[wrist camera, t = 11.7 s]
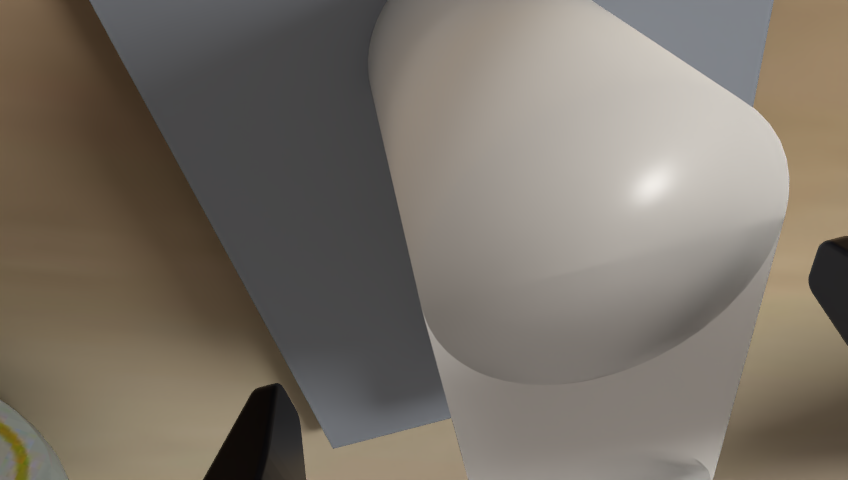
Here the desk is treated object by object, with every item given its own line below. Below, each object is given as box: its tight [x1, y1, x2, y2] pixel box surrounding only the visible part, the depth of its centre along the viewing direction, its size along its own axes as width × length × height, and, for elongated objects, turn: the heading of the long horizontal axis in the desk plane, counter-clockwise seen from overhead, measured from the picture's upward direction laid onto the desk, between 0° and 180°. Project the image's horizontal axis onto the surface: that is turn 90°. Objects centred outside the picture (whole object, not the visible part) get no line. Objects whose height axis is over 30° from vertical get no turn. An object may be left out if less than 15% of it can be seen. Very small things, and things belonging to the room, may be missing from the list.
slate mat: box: [89, 0, 774, 449], centre depth 13 cm, size 12×16×1 cm
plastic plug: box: [368, 0, 789, 480], centre depth 11 cm, size 4×12×6 cm, turn 10°
